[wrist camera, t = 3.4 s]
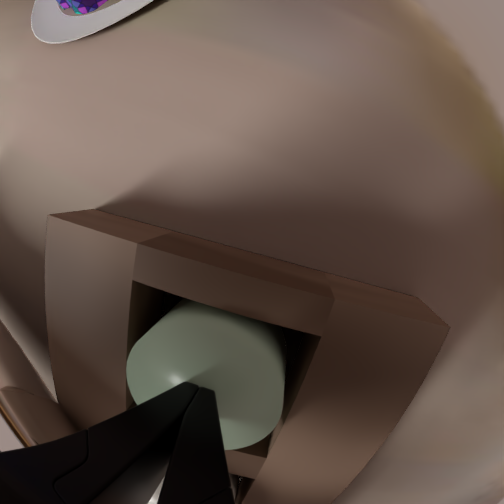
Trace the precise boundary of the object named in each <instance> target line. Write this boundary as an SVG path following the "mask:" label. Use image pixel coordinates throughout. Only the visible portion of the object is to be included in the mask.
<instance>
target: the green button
mask: <svg viewBox="0 0 504 504" xmlns="http://www.w3.org/2000/svg"><path fill="white" fill-rule="evenodd" d="M286 357H287V346H286V340H285V336H284V333H283V331H282V329H281V327H280V326H279V325H275V324H271V323H268V322H264V321H260V320H257V319H253V318H250V317H246V316H243V315H239V314H236V313H232V312H229V311H226V310H222V309H219V308H216V307H212V306H209V305H206V304H203V303H200V302H196V301H193V300H190V299H187V298H184V299H182V300H181V301H180V302H179V303H177V304H176V305H175V306H174V307H173V308H172V309H171V310H170V311H169V312H168V313H167V314H166V315H165V316H164V317H163V318H162V319H160V320H159V321H158V322H157V323H156V324H155V325H154V326H153V327H152V328H151V329H150V330H149V331H148V332H147V333H146V334H145V335H144V336H143V337H142V338H140V339H139V340H138V341H137V342H136V344H135V345H134V346H133V348H132V350H131V352H130V354H129V357H128V360H127V366H126V376H127V382H128V386H129V389H130V392H131V394H132V396H133V398H134V400H135V402H136V404H137V405H139V404H141V403H143V402H145V401H147V400H149V399H151V398H153V397H155V396H157V395H159V394H161V393H163V392H165V391H167V390H169V389H171V388H173V387H174V386H176V385H178V384H180V383H182V382H184V381H187V382H190V383H193V384H196V385H198V386H199V388H200V387H205V388H208V389H211V390H214V391H215V394H216V400H217V407H218V413H219V419H220V426H221V432H222V437H223V443H224V449H225V450H232V449H239V448H243V447H247V446H250V445H252V444H254V443H257V442H259V441H260V440H262V439H263V438H265V437H266V436H267V435H268V434H270V433H271V431H272V430H273V429H274V428H275V427H276V425H277V423H278V421H279V419H280V417H281V414H282V408H283V398H284V385H285V372H286Z"/></svg>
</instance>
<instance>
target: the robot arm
mask: <svg viewBox="0 0 504 504" xmlns="http://www.w3.org/2000/svg"><path fill="white" fill-rule="evenodd" d="M164 476H165V478H164ZM163 478H164V481H163V484H162V488H161V491H160V495H159V498H158V502H157V504H236V503H235V499H234V494H233V489H232V488H231V480H230V475H229V470H228V465H227V460H226V454H225V449H224V443H223V437H222V432H221V426H220V419H219V413H218V407H217V400H216V394H215V391H214V390H211V389H208V388H205V387H200V388H199V386H198V385H196V384H193V383H190V382H187V381H184V382H182V383H180V384H178V385H176V386H174V387H173V388H171V389H169V390H167V391H165V392H163V393H161V394H159V395H157V396H155V397H153V398H151V399H149V400H147V401H145V402H143V403H141V404H139V405H137V406H135V407H133V408H130V409H128V410H126V411H124V412H122V413H120V414H118V415H115V416H113V417H111V418H109V419H107V420H104V421H102V422H100V423H98V424H95V425H93V426H91V427H88V428H87V429H83V430H81V431H78V432H76V433H74V434H71V435H68V436H65V437H63V438H60V439H57V440H54V441H50V442H46V443H43V444H39V445H34V446H30V447H25V448H20V449H15V450H9V451H3V452H0V504H148V502H149V501H150V499H151V497H152V496H153V494H154V493H155V491H156V489H157V488H158V486H159V484H160V483H161V481H162V480H163Z"/></svg>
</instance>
